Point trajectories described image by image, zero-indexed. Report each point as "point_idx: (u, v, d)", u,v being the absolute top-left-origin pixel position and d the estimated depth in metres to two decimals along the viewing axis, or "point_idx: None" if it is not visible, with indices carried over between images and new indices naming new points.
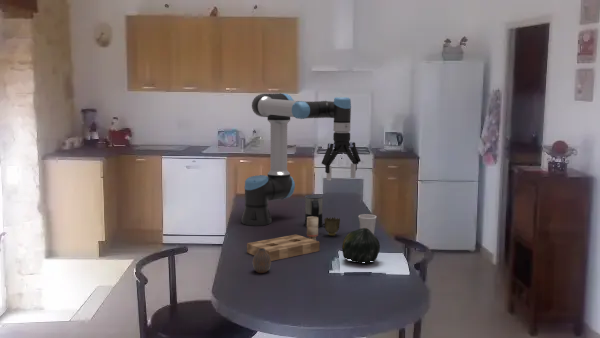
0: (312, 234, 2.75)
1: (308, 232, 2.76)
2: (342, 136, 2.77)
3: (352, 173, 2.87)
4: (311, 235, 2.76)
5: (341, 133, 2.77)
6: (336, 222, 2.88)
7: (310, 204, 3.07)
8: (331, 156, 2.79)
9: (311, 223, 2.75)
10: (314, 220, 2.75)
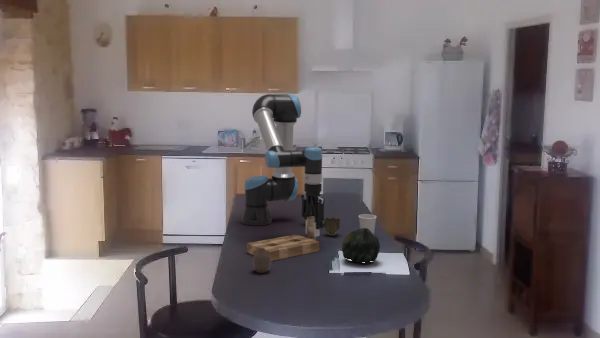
0: (312, 234, 2.75)
1: (308, 232, 2.76)
2: (304, 186, 2.75)
3: None
4: (311, 235, 2.76)
5: (305, 183, 2.75)
6: (336, 222, 2.88)
7: None
8: None
9: (311, 223, 2.75)
10: (314, 220, 2.75)
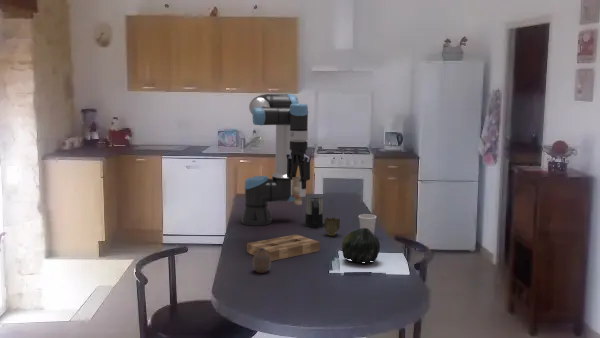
0: (298, 194, 2.63)
1: (294, 192, 2.64)
2: (289, 144, 2.62)
3: None
4: (297, 195, 2.63)
5: (290, 141, 2.63)
6: (336, 222, 2.88)
7: (310, 204, 3.08)
8: None
9: (297, 183, 2.62)
10: None
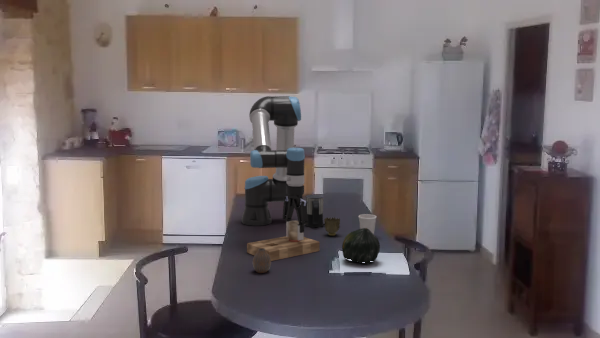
0: (294, 239, 2.64)
1: (290, 237, 2.65)
2: (286, 188, 2.63)
3: None
4: (293, 240, 2.64)
5: (287, 185, 2.64)
6: (336, 222, 2.88)
7: (311, 204, 3.08)
8: None
9: (293, 228, 2.64)
10: (296, 225, 2.64)
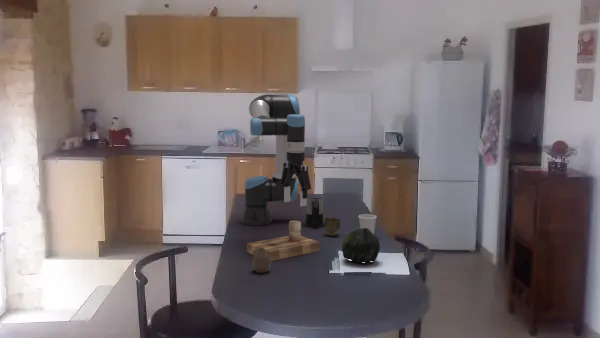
0: (294, 239, 2.64)
1: (290, 237, 2.65)
2: (286, 155, 2.61)
3: None
4: (293, 240, 2.64)
5: (287, 152, 2.62)
6: (336, 222, 2.88)
7: (311, 204, 3.08)
8: None
9: (293, 228, 2.64)
10: (296, 225, 2.64)
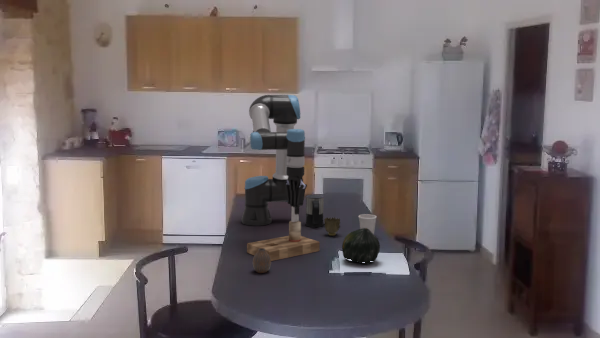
0: (294, 239, 2.64)
1: (290, 237, 2.65)
2: (286, 169, 2.62)
3: None
4: (293, 240, 2.64)
5: (287, 166, 2.63)
6: (336, 222, 2.88)
7: (311, 204, 3.08)
8: None
9: (293, 228, 2.64)
10: (296, 225, 2.64)
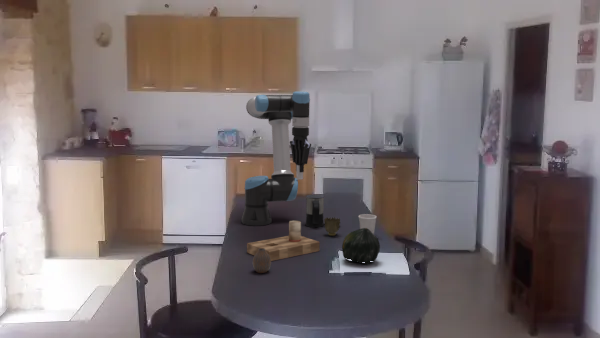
0: (294, 239, 2.64)
1: (290, 237, 2.65)
2: (292, 130, 2.78)
3: None
4: (293, 240, 2.64)
5: None
6: (336, 222, 2.88)
7: (311, 204, 3.08)
8: None
9: (293, 228, 2.64)
10: (296, 225, 2.64)
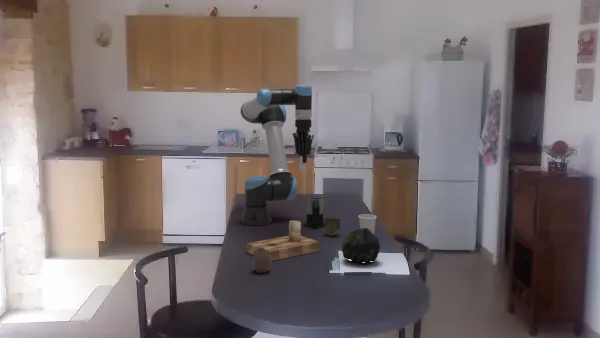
0: (294, 239, 2.64)
1: (290, 237, 2.65)
2: (295, 122, 2.88)
3: None
4: (293, 240, 2.64)
5: None
6: (336, 222, 2.88)
7: (311, 204, 3.08)
8: None
9: (293, 228, 2.64)
10: (296, 225, 2.64)
